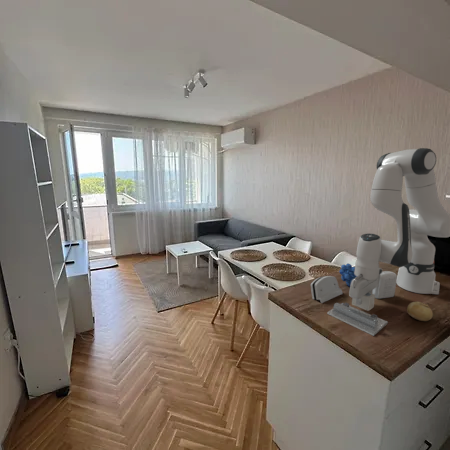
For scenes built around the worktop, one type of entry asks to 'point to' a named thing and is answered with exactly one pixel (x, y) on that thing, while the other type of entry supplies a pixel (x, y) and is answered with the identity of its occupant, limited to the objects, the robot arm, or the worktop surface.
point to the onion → (420, 311)
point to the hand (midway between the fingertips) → (363, 301)
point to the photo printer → (385, 285)
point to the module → (365, 301)
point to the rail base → (380, 322)
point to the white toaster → (325, 288)
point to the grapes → (347, 273)
